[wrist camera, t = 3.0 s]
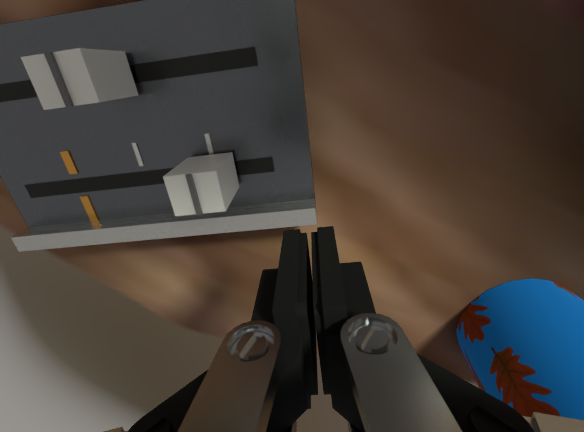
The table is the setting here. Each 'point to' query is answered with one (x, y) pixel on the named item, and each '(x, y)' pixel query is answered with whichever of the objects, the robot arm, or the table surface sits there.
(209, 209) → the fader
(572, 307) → the thermos
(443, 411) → the robot arm
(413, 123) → the table surface
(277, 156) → the console
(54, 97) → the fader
